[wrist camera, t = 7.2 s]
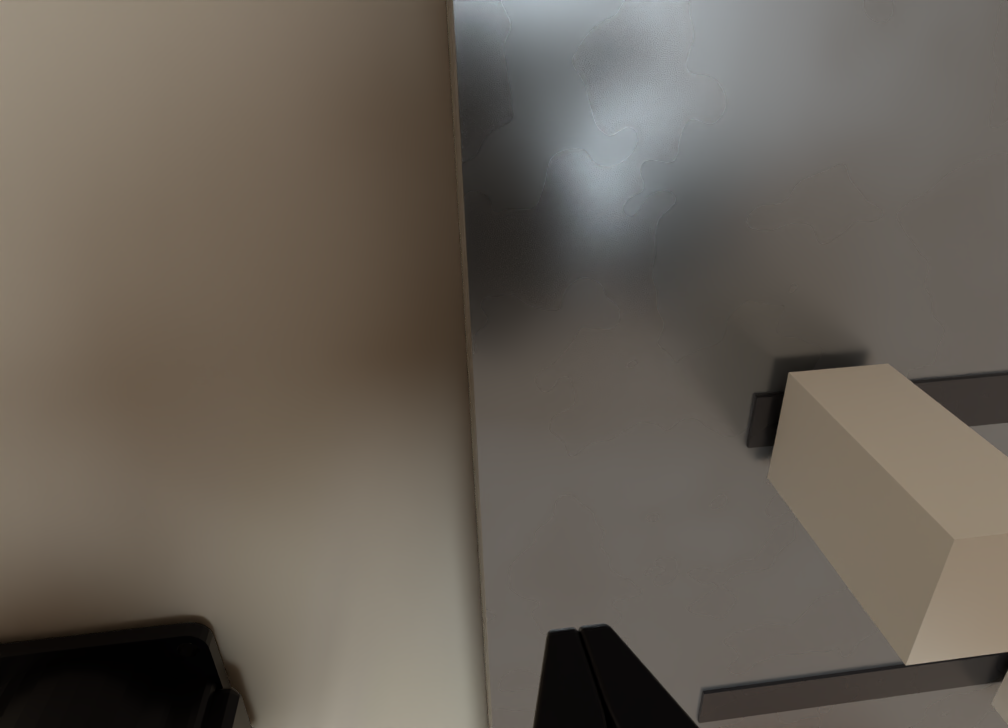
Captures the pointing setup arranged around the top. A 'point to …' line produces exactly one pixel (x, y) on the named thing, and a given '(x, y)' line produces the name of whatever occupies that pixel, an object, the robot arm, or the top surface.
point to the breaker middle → (899, 507)
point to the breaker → (1002, 699)
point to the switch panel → (716, 324)
